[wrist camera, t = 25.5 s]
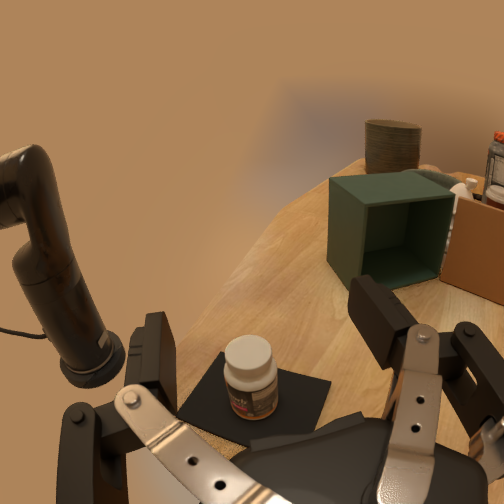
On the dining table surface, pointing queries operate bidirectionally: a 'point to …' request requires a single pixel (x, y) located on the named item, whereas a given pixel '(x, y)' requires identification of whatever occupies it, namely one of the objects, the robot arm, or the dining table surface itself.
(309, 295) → the dining table surface
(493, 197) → the coffee cup
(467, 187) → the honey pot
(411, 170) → the bowl
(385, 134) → the planter
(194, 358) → the dining table surface
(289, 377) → the mat
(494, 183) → the supplement tub
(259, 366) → the pill bottle
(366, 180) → the cupboard
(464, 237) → the cupboard door
